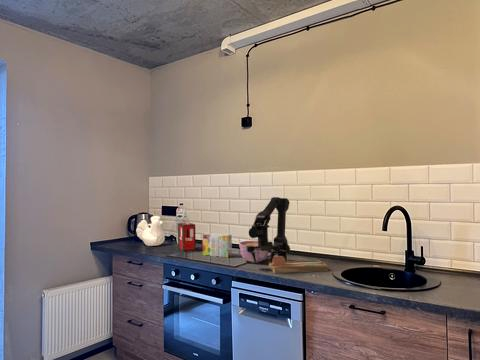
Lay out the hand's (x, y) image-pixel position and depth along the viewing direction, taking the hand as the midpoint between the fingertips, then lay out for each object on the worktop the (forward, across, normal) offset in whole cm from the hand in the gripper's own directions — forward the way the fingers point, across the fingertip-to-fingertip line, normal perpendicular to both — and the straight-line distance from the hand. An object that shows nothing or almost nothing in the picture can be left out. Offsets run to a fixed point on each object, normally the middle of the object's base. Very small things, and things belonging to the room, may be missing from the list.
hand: (263, 263), depth 190 cm
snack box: (+3, -25, +42) cm, 49 cm away
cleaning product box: (+3, -47, +67) cm, 82 cm away
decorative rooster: (+3, -78, +96) cm, 123 cm away
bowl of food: (+3, -2, +20) cm, 20 cm away
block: (+1, +9, 0) cm, 9 cm away
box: (+3, +19, -4) cm, 20 cm away
